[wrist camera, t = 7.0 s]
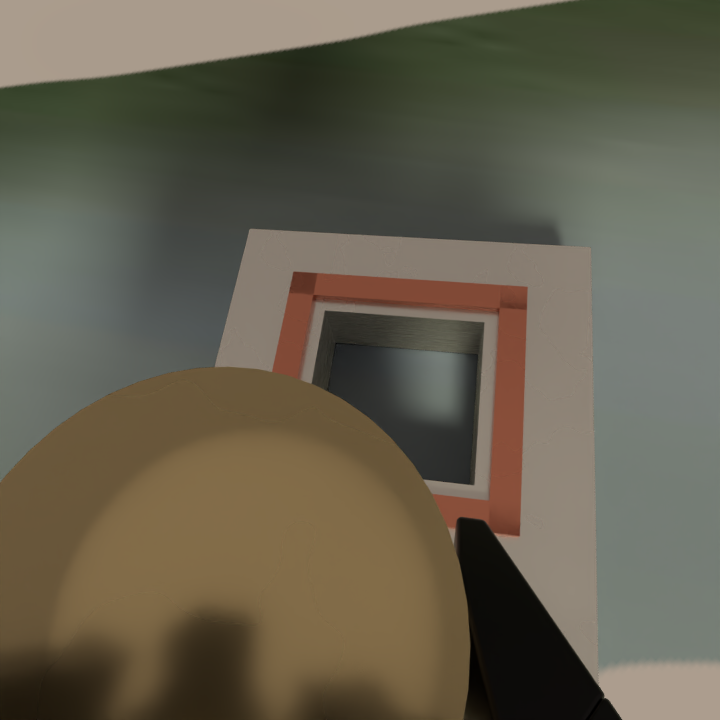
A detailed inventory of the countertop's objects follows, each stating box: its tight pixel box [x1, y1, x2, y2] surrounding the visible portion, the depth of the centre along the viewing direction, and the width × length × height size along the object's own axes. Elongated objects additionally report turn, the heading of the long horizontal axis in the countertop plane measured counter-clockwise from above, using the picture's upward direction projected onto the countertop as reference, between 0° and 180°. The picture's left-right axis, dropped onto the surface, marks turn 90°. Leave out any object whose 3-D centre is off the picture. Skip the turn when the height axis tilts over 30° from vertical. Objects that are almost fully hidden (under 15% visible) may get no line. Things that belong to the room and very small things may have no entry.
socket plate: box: [215, 229, 599, 686], centre depth 21 cm, size 22×14×3 cm, turn 172°
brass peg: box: [0, 367, 470, 720], centre depth 10 cm, size 4×4×11 cm
